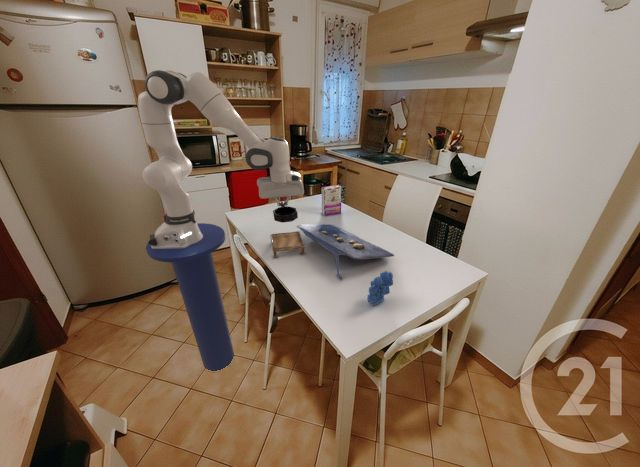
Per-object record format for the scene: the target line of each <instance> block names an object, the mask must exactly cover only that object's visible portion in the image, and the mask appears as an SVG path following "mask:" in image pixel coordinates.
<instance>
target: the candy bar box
mask: <svg viewBox="0 0 640 467" xmlns="http://www.w3.org/2000/svg"><path fill="white" fill-rule="evenodd" d="M342 192H343V187H342V186H341V185H339V184H336V185H328V186H322V187H321V214H322V215H323V216H324V217H326V216H332V215H337V214H341V213H342V195H343V194H342Z"/></svg>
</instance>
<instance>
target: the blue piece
mask: <svg viewBox="0 0 640 467" xmlns="http://www.w3.org/2000/svg"><path fill="white" fill-rule="evenodd" d="M296 228H298V229H299V230H300V231H302V232H303V234H304V235H305V236H306V237H308V238H309V239H311V240H312V241H314V242H315V243H318V244H320V246H321V247H323V248H324V249H325V250H326V251H329V252H330V253H332V254H333V255H334V258H335V264H336V276H337V277H338V278H339V280H341V281H342V277H341V273H340V270H339V257H340V256H347V257H349V258H351V259H353V260H370V259H382V258H383V259H384V258H392V257H395V254H394V253H392V252H390V251H388V250H386V249H384V248H382V247H380V246H378V245H375V244H373V243H370V242H369V241H366V240H364V239H363V238H360V237H359V236H356V235H354V234H352V233H350V232H348V231H346V230H344V229H342V228H339V227H337V226H334V225H332V224H320V223H319V224H318V223H315V224H314V223H313V224H312V223H311V224H297V225H296Z"/></svg>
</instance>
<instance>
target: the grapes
mask: <svg viewBox="0 0 640 467" xmlns="http://www.w3.org/2000/svg"><path fill="white" fill-rule="evenodd" d="M379 275H380V276H377V277H375V278H373V280H371V281H370V286H369V287H368V294H367V298H366V299H367V300H366V301H367V302H368V303H370V305H371V306H377V305H378V304H379V303H381V302H384V300H385V296H386V295H388V294H390V292H391V290H390V287H392V286H393V285H394V280H393V279H394V276H393V272H391V271H386V270H384V271H382V272H381V273H379Z"/></svg>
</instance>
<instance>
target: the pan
mask: <svg viewBox="0 0 640 467" xmlns="http://www.w3.org/2000/svg"><path fill="white" fill-rule="evenodd" d="M280 202H281V206H278V207H277V208H274V209H273V210H272V214H273V219H274V221H275V222H278V223H283V224H284V223H291V222H294V221H295V220H297V219H298V217H299V216H298V209H297V208H296V207H293V206H288V205H287V206H285V205H284V200H280Z"/></svg>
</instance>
